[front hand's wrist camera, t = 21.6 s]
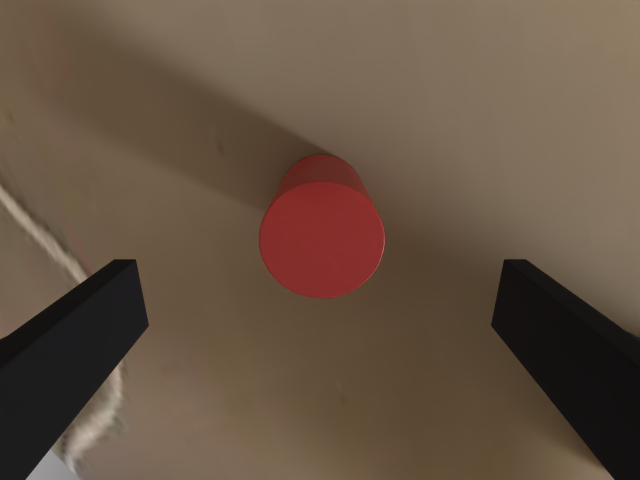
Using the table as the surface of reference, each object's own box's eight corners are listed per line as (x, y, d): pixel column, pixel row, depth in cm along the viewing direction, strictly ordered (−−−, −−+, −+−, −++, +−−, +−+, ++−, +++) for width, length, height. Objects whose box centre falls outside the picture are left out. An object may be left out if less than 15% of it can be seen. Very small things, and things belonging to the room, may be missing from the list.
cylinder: (262, 190, 25) (232, 234, 16) (328, 135, 24) (332, 152, 15) (315, 250, 27) (313, 319, 18) (379, 203, 25) (409, 252, 17)
